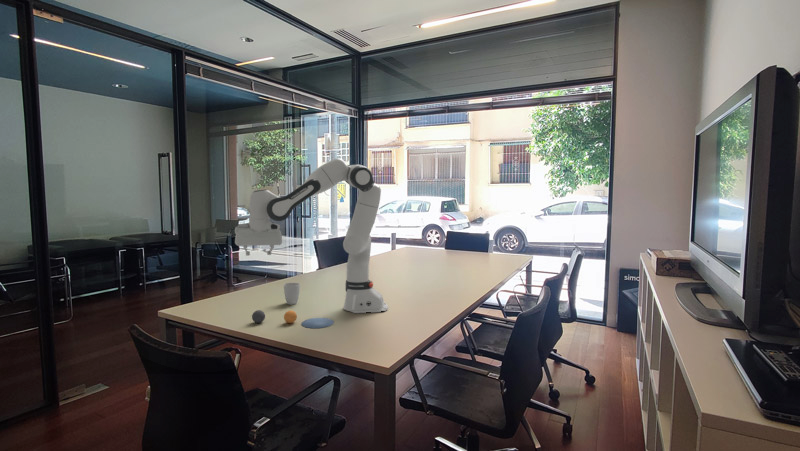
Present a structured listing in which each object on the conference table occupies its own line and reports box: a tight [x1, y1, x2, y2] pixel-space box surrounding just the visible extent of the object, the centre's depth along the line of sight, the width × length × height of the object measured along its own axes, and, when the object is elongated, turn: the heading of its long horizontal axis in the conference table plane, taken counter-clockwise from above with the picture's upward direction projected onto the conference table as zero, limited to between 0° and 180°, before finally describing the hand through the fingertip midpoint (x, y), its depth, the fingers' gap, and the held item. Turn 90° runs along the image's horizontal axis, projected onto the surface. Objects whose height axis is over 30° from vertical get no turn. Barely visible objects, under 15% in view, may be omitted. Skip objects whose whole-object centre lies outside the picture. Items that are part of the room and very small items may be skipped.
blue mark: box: [300, 317, 335, 329], centre depth 174 cm, size 14×14×1 cm
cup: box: [283, 282, 301, 305], centre depth 205 cm, size 8×8×10 cm
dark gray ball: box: [251, 309, 266, 324], centre depth 174 cm, size 6×6×6 cm
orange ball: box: [283, 310, 298, 324], centre depth 174 cm, size 6×6×6 cm
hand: (258, 255), depth 180 cm, fingers open, 8 cm apart
